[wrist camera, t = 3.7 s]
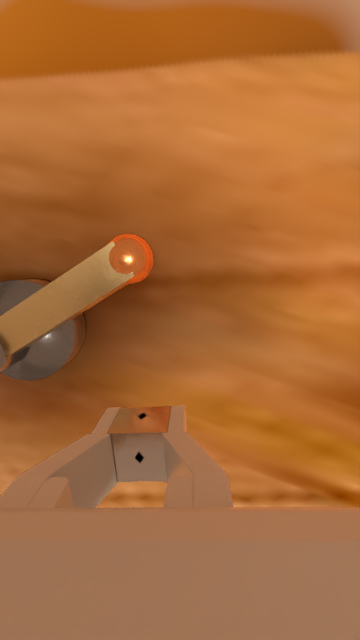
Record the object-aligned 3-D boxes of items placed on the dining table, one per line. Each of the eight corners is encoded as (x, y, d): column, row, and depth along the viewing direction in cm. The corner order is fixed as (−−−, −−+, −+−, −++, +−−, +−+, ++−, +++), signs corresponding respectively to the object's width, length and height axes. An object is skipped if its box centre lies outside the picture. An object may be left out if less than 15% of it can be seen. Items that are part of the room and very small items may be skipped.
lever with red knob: (29, 385, 22) (-32, 429, 16) (-27, 312, 21) (-116, 330, 15) (182, 293, 20) (179, 303, 14) (129, 205, 19) (100, 174, 13)
